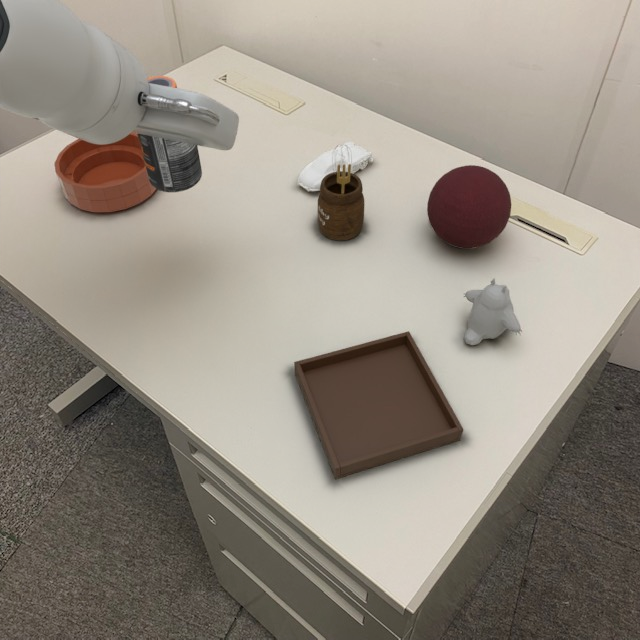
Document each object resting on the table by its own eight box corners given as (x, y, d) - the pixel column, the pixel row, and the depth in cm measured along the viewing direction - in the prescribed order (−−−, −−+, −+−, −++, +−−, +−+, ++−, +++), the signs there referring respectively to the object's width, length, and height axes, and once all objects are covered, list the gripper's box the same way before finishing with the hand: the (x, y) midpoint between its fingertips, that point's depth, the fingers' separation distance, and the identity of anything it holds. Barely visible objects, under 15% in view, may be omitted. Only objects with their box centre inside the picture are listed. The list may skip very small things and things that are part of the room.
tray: (335, 479, 60) (335, 469, 59) (294, 373, 68) (293, 361, 67) (460, 440, 63) (463, 429, 61) (407, 342, 71) (409, 330, 70)
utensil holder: (360, 211, 86) (364, 132, 77) (365, 243, 82) (370, 163, 73) (316, 213, 86) (315, 134, 77) (319, 245, 82) (318, 165, 73)
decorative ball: (452, 203, 87) (464, 138, 79) (517, 236, 82) (536, 171, 75) (407, 239, 82) (414, 175, 75) (472, 277, 78) (488, 212, 70)
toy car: (375, 163, 93) (376, 143, 90) (315, 200, 88) (314, 179, 85) (350, 150, 95) (351, 129, 93) (291, 185, 90) (290, 164, 87)
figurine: (528, 340, 71) (546, 292, 65) (494, 368, 69) (509, 320, 63) (472, 300, 75) (485, 251, 69) (438, 325, 73) (448, 276, 67)
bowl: (68, 224, 85) (57, 196, 81) (62, 167, 93) (52, 140, 90) (168, 203, 88) (162, 175, 84) (153, 150, 96) (147, 123, 92)
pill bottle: (148, 166, 74) (125, 72, 65) (200, 159, 75) (183, 66, 66) (150, 198, 70) (126, 103, 62) (205, 190, 71) (188, 95, 62)
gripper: (211, 70, 52) (266, 116, 66) (1, 34, 57) (92, 84, 70) (195, 147, 53) (252, 177, 66) (-11, 105, 58) (81, 141, 71)
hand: (169, 129), depth 68 cm, fingers closed on pill bottle, 6 cm apart
